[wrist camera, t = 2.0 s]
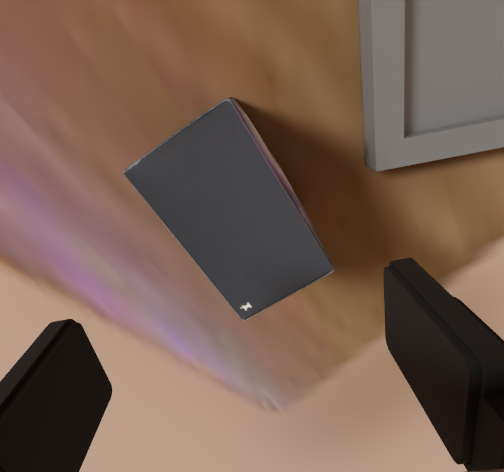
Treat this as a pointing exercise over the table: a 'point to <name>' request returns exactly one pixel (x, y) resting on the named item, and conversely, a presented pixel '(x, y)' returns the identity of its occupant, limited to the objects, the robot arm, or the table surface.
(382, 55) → the tray
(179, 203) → the small box
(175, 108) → the table surface
